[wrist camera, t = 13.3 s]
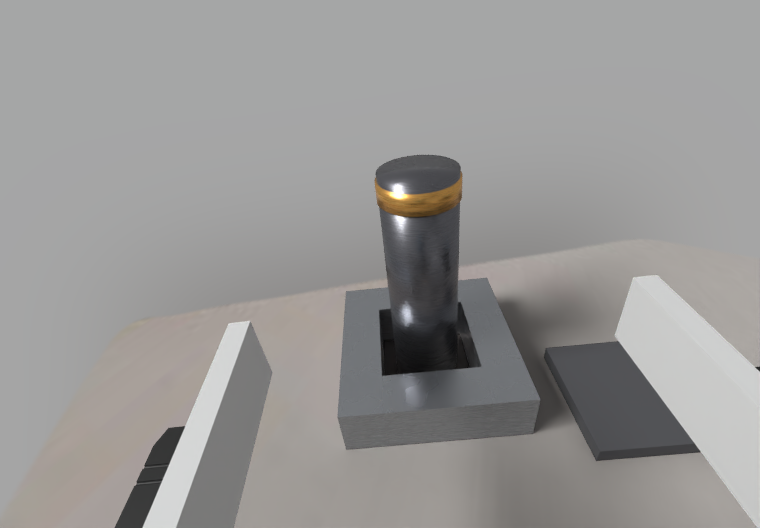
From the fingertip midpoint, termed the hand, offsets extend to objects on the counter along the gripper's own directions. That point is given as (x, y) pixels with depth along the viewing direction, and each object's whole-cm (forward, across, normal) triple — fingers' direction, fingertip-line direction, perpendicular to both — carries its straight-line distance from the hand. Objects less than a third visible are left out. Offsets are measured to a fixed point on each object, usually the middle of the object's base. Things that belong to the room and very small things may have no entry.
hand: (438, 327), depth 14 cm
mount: (+6, +14, -14) cm, 21 cm away
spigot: (+10, 0, -14) cm, 17 cm away
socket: (+10, 0, -14) cm, 17 cm away
